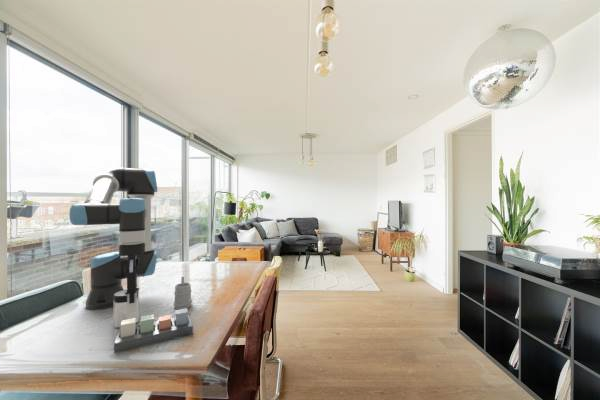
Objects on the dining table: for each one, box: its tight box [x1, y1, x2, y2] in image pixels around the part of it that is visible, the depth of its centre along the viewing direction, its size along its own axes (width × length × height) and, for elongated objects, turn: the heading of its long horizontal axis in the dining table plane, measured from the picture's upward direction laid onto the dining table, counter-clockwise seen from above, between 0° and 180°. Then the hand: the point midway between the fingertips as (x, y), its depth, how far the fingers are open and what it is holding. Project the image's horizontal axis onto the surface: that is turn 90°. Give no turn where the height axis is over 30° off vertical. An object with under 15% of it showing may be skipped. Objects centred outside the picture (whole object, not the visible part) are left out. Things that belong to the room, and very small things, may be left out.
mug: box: [173, 276, 193, 310], centre depth 119 cm, size 8×12×12 cm, turn 26°
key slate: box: [174, 308, 189, 326], centre depth 95 cm, size 4×4×4 cm
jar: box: [112, 289, 140, 329], centre depth 101 cm, size 9×8×12 cm
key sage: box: [139, 314, 155, 334], centre depth 90 cm, size 4×4×4 cm
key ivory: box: [120, 318, 137, 338], centre depth 87 cm, size 4×4×4 cm
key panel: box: [113, 314, 194, 354], centre depth 91 cm, size 11×23×3 cm, turn 119°
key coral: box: [158, 314, 172, 329], centre depth 92 cm, size 4×4×4 cm
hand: (132, 311), depth 88 cm, fingers closed
